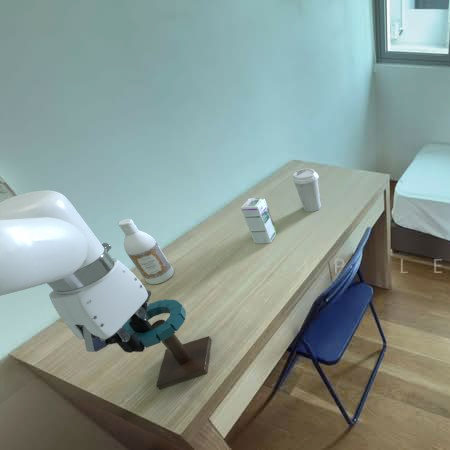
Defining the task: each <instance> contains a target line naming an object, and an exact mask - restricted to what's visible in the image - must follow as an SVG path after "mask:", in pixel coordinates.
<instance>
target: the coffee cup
mask: <svg viewBox="0 0 450 450" xmlns="http://www.w3.org/2000/svg"><path fill="white" fill-rule="evenodd" d="M319 178H320V177H319V174H318V172H316V170H315V169H314V168H301V169H298V170H296V171H294V172H293V174H292V178H291V181H292V182H293V184H294V186H295V188H296V191H297V194H298V196H299V199H300V202H301V205H302V207H303V210H304V211H305V212H307V213H312V212H313V213H314V212H317V211H320V209H321V207H322V206H321V195H320V190H319V189H320V188H319V180H318V179H319Z"/></svg>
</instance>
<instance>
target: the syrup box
mask: <svg viewBox="0 0 450 450" xmlns="http://www.w3.org/2000/svg"><path fill="white" fill-rule="evenodd" d="M240 211H241V213H242V215H243V218H244V220H245V222H246V226H247V228H248V230H249V232H250V235H251V237H252V240H253V242H254V244H272V242H273V240H274V239H275V237H276V235H277V233H278V231H277V229H276V226H275V223H274V221H273V218H272V214H271V213H270V210H269V206H268V204H267V201H266V198H264V197H252V198H247V200H246V201H245V202H244V203H243V205H241V207H240Z"/></svg>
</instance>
